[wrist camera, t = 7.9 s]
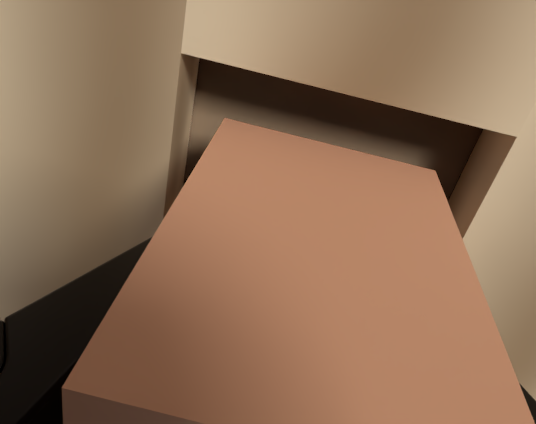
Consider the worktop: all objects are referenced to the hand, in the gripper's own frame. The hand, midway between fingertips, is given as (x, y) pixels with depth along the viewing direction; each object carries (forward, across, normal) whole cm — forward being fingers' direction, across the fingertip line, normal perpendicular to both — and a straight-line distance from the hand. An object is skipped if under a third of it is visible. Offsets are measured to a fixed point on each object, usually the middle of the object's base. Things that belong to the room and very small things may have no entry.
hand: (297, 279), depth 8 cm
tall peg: (+2, 0, 0) cm, 2 cm away
